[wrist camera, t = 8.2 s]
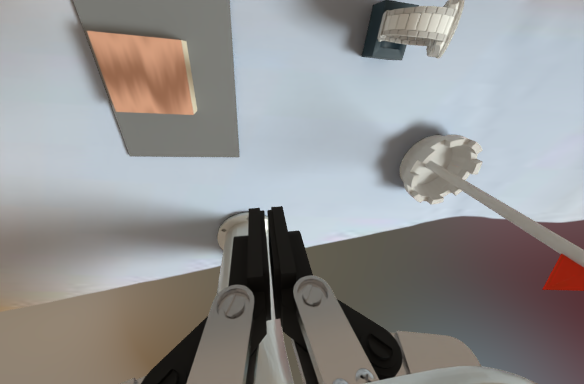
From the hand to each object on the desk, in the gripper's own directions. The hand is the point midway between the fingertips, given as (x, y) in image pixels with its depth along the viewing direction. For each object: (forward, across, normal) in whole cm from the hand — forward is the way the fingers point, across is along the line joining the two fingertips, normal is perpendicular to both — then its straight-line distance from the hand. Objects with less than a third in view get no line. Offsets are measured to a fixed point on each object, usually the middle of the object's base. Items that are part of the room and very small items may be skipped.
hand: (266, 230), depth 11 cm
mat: (+25, +11, -6) cm, 28 cm away
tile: (+23, +8, -6) cm, 25 cm away
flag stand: (+26, -33, +8) cm, 42 cm away
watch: (+25, -18, -12) cm, 33 cm away
